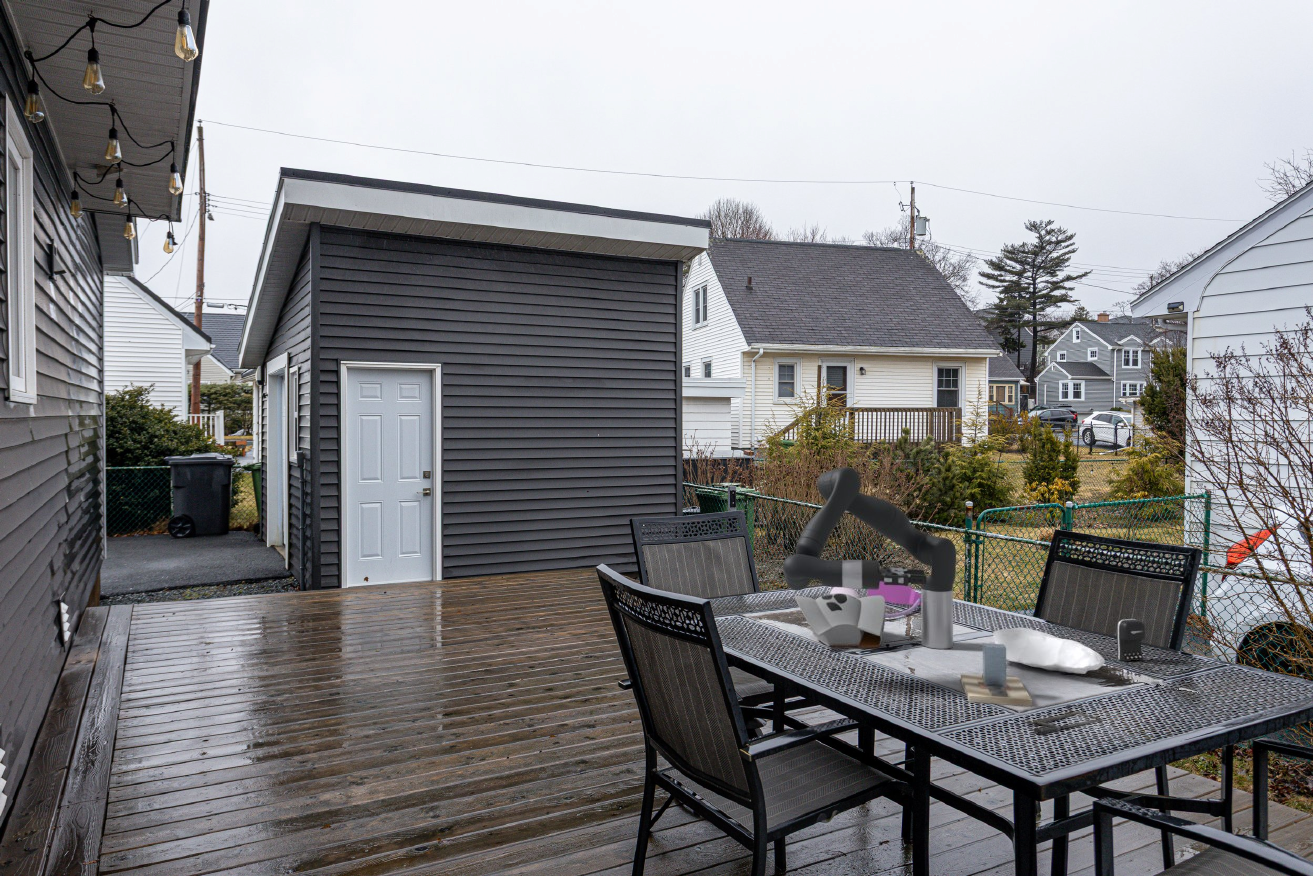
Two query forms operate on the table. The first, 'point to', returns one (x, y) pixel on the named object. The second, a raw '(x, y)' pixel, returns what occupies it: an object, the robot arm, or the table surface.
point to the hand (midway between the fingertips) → (925, 576)
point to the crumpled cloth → (1047, 651)
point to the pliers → (1154, 681)
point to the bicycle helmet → (845, 619)
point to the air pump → (888, 595)
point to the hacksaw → (1055, 728)
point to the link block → (994, 665)
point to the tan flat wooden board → (995, 691)
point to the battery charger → (1130, 639)
